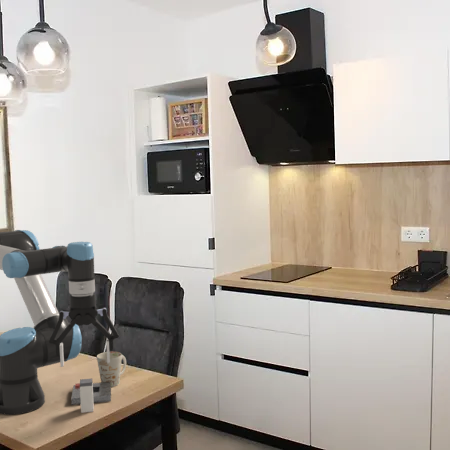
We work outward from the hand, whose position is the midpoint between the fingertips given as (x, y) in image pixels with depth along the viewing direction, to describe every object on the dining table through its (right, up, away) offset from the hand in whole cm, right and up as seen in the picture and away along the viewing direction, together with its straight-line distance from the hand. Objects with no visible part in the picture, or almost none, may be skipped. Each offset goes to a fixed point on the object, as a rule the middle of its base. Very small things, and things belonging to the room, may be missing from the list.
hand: (85, 363), depth 175 cm
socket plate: (-1, -13, +12) cm, 18 cm away
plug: (0, -14, +1) cm, 14 cm away
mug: (+4, -12, +25) cm, 28 cm away
